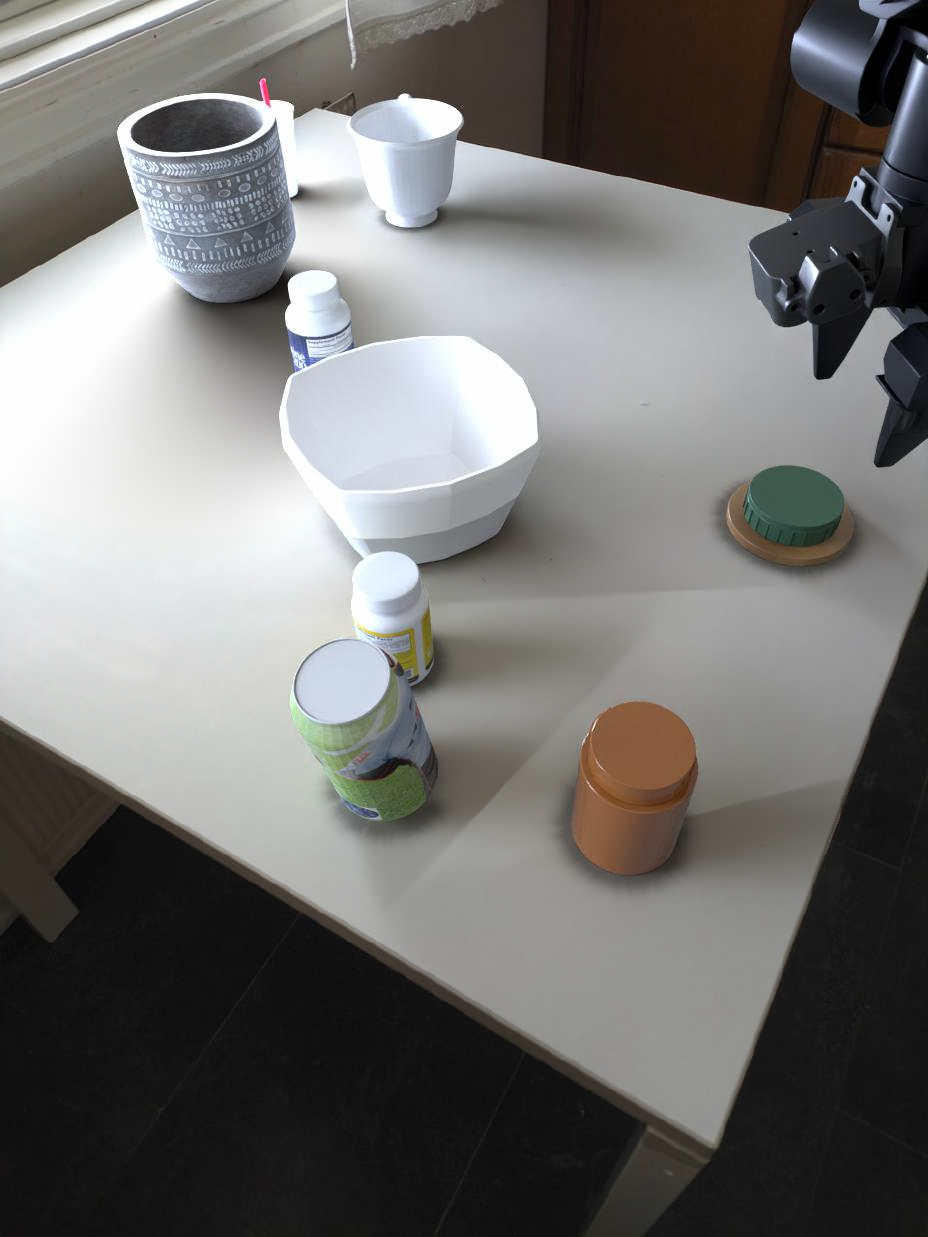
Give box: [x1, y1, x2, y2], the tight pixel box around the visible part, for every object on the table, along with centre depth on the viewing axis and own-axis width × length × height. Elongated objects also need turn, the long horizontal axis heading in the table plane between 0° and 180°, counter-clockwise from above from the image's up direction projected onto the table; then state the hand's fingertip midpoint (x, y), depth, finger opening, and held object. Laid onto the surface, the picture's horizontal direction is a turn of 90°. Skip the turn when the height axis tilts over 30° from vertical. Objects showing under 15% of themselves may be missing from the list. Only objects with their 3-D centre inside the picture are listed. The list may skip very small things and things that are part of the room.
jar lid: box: [743, 464, 846, 547], centre depth 66 cm, size 7×7×2 cm
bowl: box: [279, 335, 543, 565], centre depth 65 cm, size 18×18×9 cm
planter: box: [117, 93, 297, 304], centre depth 87 cm, size 14×14×15 cm
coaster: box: [725, 480, 855, 567], centre depth 67 cm, size 9×9×1 cm
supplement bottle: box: [351, 552, 435, 687], centre depth 56 cm, size 5×5×8 cm
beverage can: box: [289, 637, 439, 822], centre depth 49 cm, size 6×7×12 cm
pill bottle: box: [284, 269, 356, 373], centre depth 76 cm, size 5×5×10 cm
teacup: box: [346, 93, 465, 229], centre depth 98 cm, size 12×15×10 cm
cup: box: [259, 78, 299, 198], centre depth 100 cm, size 5×5×12 cm
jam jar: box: [570, 700, 700, 876], centre depth 48 cm, size 6×6×9 cm
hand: (850, 419), depth 57 cm, fingers open, 9 cm apart
